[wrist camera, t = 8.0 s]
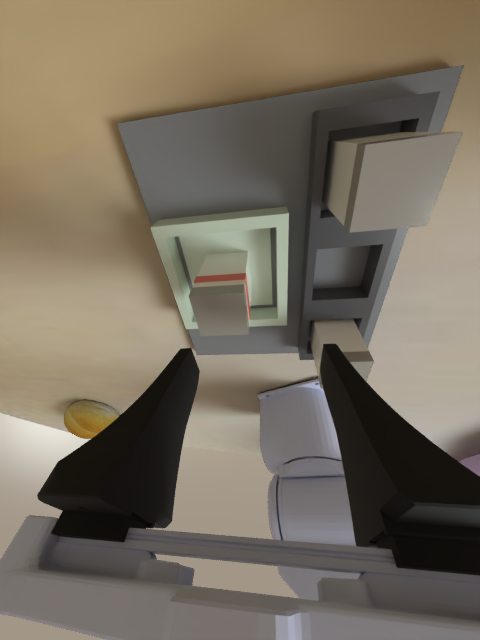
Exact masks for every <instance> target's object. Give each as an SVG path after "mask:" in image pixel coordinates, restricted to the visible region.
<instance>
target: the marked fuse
mask: <svg viewBox="0 0 480 640" xmlns="http://www.w3.org/2000/svg"><path fill="white" fill-rule="evenodd" d="M251 290H252V286H251V276H250V266H249V255H248V251H245V252H233V253H221V254H209V255H207V256H206V258H205V261H204V263H203V265H202V267H201V269H200V272H199V274H198V276H196V278H195V280H194V285H193V287H192V289H191V292H190V294H189V299H190V303H191V306H192V309H193V312H194V316H195V319H196V322H197V325H198V329H199V332H200V335H201V336H221V335H248V334H249V320H250V315H251V313H250V304H251Z"/></svg>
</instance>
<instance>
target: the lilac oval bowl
mask: <svg viewBox="0 0 480 640" xmlns="http://www.w3.org/2000/svg"><path fill="white" fill-rule="evenodd" d="M458 462H460V463H461V464H462V465H464V466H465V467H467V468H468V469H470V470H471V471H473V472H474V473H475V474H477V475H478V476H480V454H478V455H475V456H472V457H468V458H465V459H462V460H460V461H458Z"/></svg>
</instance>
